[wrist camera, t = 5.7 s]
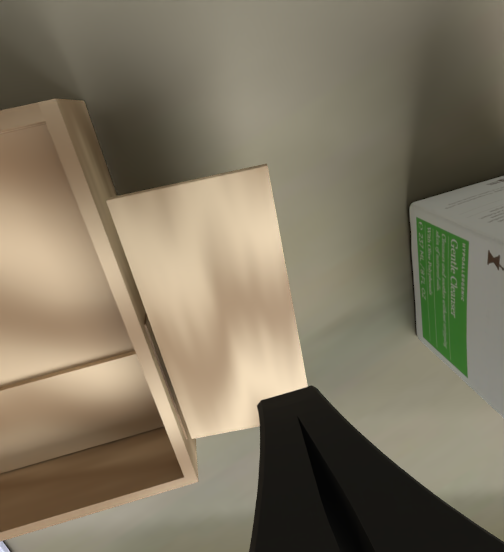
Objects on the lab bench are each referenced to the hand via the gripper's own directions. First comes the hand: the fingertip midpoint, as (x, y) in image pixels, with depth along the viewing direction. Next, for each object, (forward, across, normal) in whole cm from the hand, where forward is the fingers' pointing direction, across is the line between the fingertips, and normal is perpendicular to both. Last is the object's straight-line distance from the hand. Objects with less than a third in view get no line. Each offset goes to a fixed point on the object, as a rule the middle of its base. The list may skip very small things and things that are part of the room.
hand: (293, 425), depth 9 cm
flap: (+6, +4, 0) cm, 7 cm away
